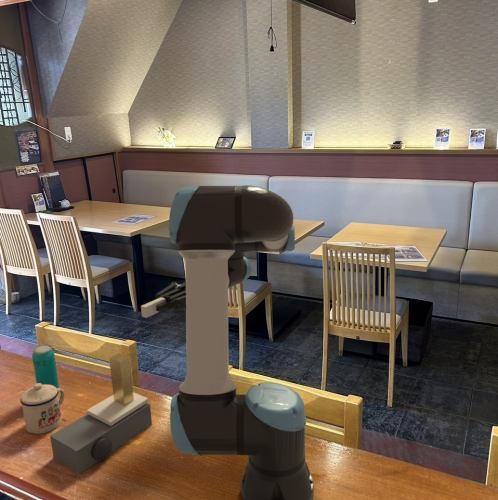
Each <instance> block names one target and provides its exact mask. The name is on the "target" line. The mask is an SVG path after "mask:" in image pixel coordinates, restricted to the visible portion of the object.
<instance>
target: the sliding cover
mask: <svg viewBox="0 0 498 500" xmlns="http://www.w3.org/2000/svg"><path fill="white" fill-rule="evenodd" d="M108 360H109V368H110V377H111V384H112V386H111V387H112V395H111V396H109V397H107V398H105V399H103V400H102V401H100V402H98V403H96V404H95V405H93V406H91V407H90V408H88V409H86V414H88V415H90V416H92V417H94V418H96V419H98V420H100V421H102V422H104V423H106V424H108V425H110V426H112V425H113V424H115V423H116V422H118V421H119V420H121V419H123V418H124V417H126V416H127V415H129V414H130V413H132V412H134V411H135V410H137V409H138V408H140V407H141V406H143V405H144V404H146V403H149V398H147V397H145V396H143V395H141V394H139V393H136V392H134V390H133V381H132V380H133V379H132V378H133V377H132V369H131V359H130V357H129V356H126V355H123V354H121V353H116V354H114V355H112V356H110V357H109V358H108Z"/></svg>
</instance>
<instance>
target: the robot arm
mask: <svg viewBox="0 0 498 500" xmlns="http://www.w3.org/2000/svg"><path fill="white" fill-rule="evenodd" d="M170 206H171V207H170V212H169V218H168V231H169V235H168V237H169V240H170V242H171V243H172V244H175V246H176V245H177V253H178V254H179V255H180V256H181V257H182V258H183V259H184V260H185V281H184V282H182V283H181V284H178V283H177V281H172V282H171V284H170V285H168V286H166V287H165V288H164V289H162V290H160V291H159V292H157V293H156V294H155V297H156V299H154V300H152V301H149V302H147V303H145V304H142V305H140V309H141V317H142V318H145V319H147V318H149V317H151V316H154V315H155V314H157V313H160V312H163V311H165V310H166V309H168V310H169V309H174V310H180V309H183V308H185V335H186V336H185V339H186V341H185V342H186V343H185V345H186V346H185V347H186V349H185V350H186V354H185V355H186V359H185V360H186V363H185V364H186V377H185V380H183V382H182V383H181V384H180V385H179V387H178V393H175V394H174V395H173V396H172V398H171V400H170V406H169V407H170V412H169V423H170V430H171V431H170V432H171V436H172V440H173V444H174V446H175V447H176V449H177V451H179V452H180V453H181V454H185V455H195V456H199V457H202V456H248V461H247V464H246V466H245V470H244V473H243V476H242V479H241V484H240V488H241V490H240V491H241V498H242V500H314V497H315V496H314V495H315V491H314V490H315V487H314V480H313V477H312V475H311V472H310V469H309V467H308V464H307V461H306V425H307V417H306V416H307V415H306V413H305V412H306V411H305V409H306V408H305V402H304V400H303V399H302V396H301V395H300V394H299V393H298V392H297V391H295V390H293V389H292V388H291V387H289V386H288V385H287V386H286V385H284V384H281V383H276V382H260V383H258V384H255V385H252V386H251V387H250V388H249V389H248V390H247V391H246V393H245V394H237V384H236V383H235V382H234V381H233V379H231V378H230V375H229V372H230V370H229V368H230V367H229V363H230V362H229V355H230V353H229V289H230V288H231V287H234V286H237V285H240V284H241V283H242V282H244V281H245V280H248V278H250V276H251V274H252V265H251V263H250V260H249V259H248V258H247V257H246V256H244V253H261V252H262V253H266V252H267V253H271V252H272V253H273V252H274V253H276V252H277V253H285V252H287V253H288V252H293V251H294V250H295V247H296V245H295V244H296V242H295V241H296V240H295V239H296V238H295V237H296V236H295V235H296V234H295V233H296V232H295V226H294V225H293V224H294V212H293V209H292V207H291V205H290V204H289V203H288V202H287V201H286V199H284V198H283V197H282V196H281V195H280V194H277V193H276V192H273V191H271V190H269V189H267V188H264V187H261V186H257V185H197V186H188V187H182V188H180V189H179V190H177V192H175V194H174V197H173V199H172V203H171V205H170Z"/></svg>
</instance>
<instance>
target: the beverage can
mask: <svg viewBox="0 0 498 500" xmlns="http://www.w3.org/2000/svg"><path fill="white" fill-rule="evenodd" d="M31 354H32V355H31V357H32V358H31V359H32V365H33V370H34V376H35V384H37V383H41V384H42V385H53V386H55V387H56V388H60V381H59V375H58V369H57V362H56V357H55V355H56V354H55V351H54V349H53V346H52V345H51V344H40V345H37V346H35V347H34V348H32V353H31ZM58 394H60V392H58Z"/></svg>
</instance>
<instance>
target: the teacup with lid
mask: <svg viewBox="0 0 498 500" xmlns="http://www.w3.org/2000/svg"><path fill="white" fill-rule="evenodd" d="M58 392H59V393H58ZM59 394H60V397H59ZM65 396H66V393H65V390H64V389H63V388H60V387H59V388H56V387H55V386H53V385H42V384H41V383H35V384H34V385H33V386H32V387H30V388H27V390H25V391H24V392H23V393H22V394H21V395H20V399H19V400H20V403H21V407H22V412H23V419H24V423H25V429H26V430H27V432H28V433H31V434H35V435H40V434H45V433H49V432H51V431H53V430H56V428H58V427H59V426H60V424H61V423H62V413H61V406H62V404H63V403H64V401H65Z"/></svg>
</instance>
